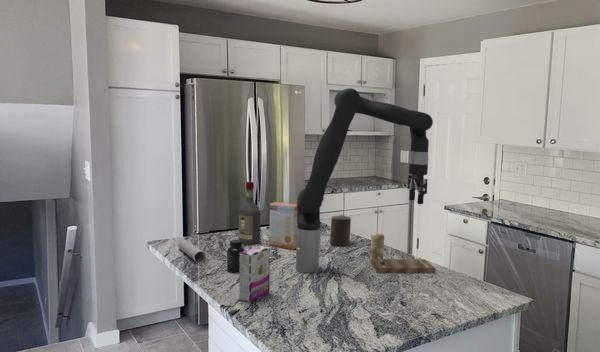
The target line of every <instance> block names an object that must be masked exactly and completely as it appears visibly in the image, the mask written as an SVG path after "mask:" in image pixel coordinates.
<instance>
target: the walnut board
mask: <svg viewBox="0 0 600 352" xmlns="http://www.w3.org/2000/svg"><path fill="white" fill-rule="evenodd" d="M382 261H384V262H385V264H384V265H382V264H381V263H380V262H379V260H378V259H371V261H370V265H371V266H372V268H373V269H374V270H375V271H376V273H377V274H413V273H414V274H436V267H435V266H434V265H432V264H431V262H429V261H428V260H426V259H418V258H417V259H414V258H413V259H405V258H404V259H403V258H402V259H400V258H399V259H395V258H394V259H393V258H391V259H390V258H389V259H387V258H383V259H382Z"/></svg>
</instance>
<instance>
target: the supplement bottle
mask: <svg viewBox="0 0 600 352" xmlns="http://www.w3.org/2000/svg"><path fill="white" fill-rule="evenodd" d="M226 251H227V253H226V269H227V272H228V273H229V272H230V273H233V274H234V273H235V274H236V273H238V274H239V273H240V261H239V260H240V258H239V253H240V252H243V251H246V250H245V248H244V247H243V244H242V240H239V239H231V240H230V241H229V247H228V248H227V250H226Z"/></svg>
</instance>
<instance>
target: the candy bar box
mask: <svg viewBox="0 0 600 352" xmlns="http://www.w3.org/2000/svg"><path fill="white" fill-rule="evenodd" d="M270 252H271V247H269V246H263V245H257V246H254V247H251V248H249V249H246V250H245V251H243V252H240V253H239V258H240V260H239V261H240V272H239V300H241V301H244V302H248V303H252V302H254V301H256V300H258V299H260V298H263V297H265V295H268V294H270V273H271V272H270V255H271V253H270Z"/></svg>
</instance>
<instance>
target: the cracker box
mask: <svg viewBox="0 0 600 352" xmlns="http://www.w3.org/2000/svg"><path fill="white" fill-rule="evenodd" d="M268 229H269V233H268V234H269V236H268V237H269V238H268V240H269V241H268V246H271V247H276V248H277V247H278V248H283V249H288V250H290V251H291V250H293V251H294V250H296V245H297V204H295V203H287V202H278V201H275V202H271V203H269V228H268Z"/></svg>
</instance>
